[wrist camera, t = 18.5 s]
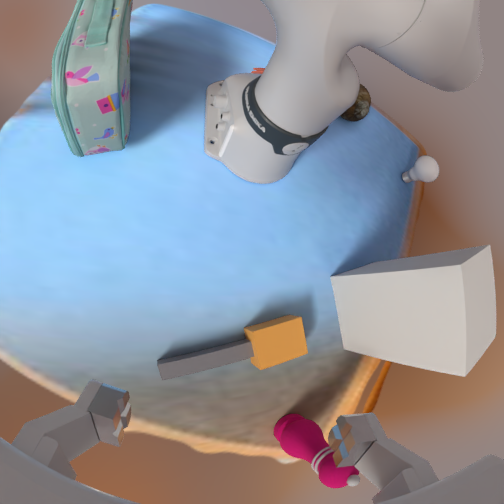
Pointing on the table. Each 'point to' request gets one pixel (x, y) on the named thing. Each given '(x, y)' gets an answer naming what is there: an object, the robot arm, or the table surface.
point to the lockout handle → (245, 349)
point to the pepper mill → (313, 450)
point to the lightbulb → (422, 170)
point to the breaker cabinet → (420, 309)
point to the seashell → (358, 106)
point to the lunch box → (94, 77)
